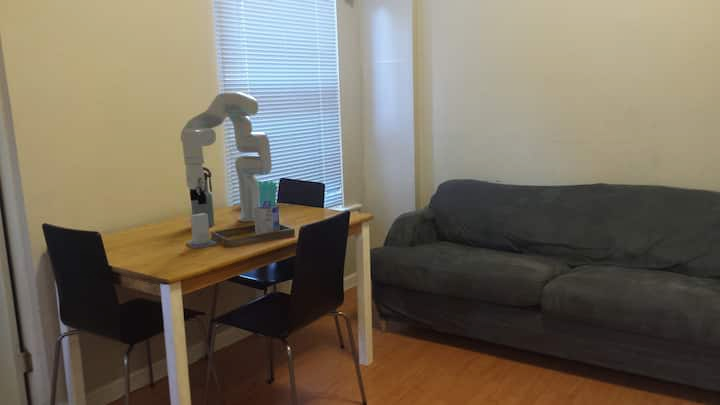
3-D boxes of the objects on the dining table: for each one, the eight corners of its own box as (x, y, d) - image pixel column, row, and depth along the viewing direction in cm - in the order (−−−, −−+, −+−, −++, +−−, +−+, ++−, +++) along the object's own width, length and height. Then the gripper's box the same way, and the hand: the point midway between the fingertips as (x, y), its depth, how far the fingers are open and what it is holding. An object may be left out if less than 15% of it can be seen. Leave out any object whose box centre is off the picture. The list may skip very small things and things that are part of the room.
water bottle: (214, 222, 288) (209, 165, 283) (216, 226, 279) (211, 167, 273) (193, 224, 285) (187, 167, 280) (193, 229, 276) (188, 169, 270)
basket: (237, 210, 317) (235, 186, 315) (249, 203, 335) (247, 181, 332) (272, 209, 314) (270, 185, 312) (282, 203, 332) (280, 180, 329)
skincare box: (205, 240, 249) (202, 212, 247) (210, 242, 246) (208, 213, 244) (192, 243, 245) (189, 214, 243) (197, 245, 242) (194, 216, 240)
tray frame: (211, 238, 256) (211, 231, 256) (275, 227, 272) (274, 221, 272) (228, 247, 240) (227, 240, 239) (294, 235, 256) (294, 228, 255)
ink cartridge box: (281, 233, 260) (278, 201, 257) (274, 236, 255) (271, 203, 252) (262, 232, 264) (259, 200, 261) (255, 235, 259) (252, 202, 256)
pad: (186, 244, 247) (185, 242, 247) (209, 240, 253) (209, 238, 252) (193, 249, 239) (193, 247, 239) (217, 245, 244) (217, 243, 244)
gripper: (178, 159, 245) (183, 200, 248) (191, 163, 230) (196, 206, 234) (196, 157, 248) (200, 197, 252) (210, 161, 234) (214, 203, 238)
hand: (198, 202), depth 243 cm, fingers open, 9 cm apart
